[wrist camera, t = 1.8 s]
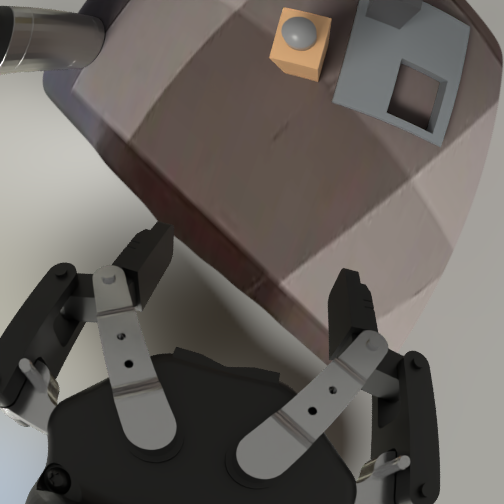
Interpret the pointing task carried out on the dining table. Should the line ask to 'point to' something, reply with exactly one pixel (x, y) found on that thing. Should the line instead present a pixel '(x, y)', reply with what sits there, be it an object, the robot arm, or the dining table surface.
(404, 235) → the dining table surface
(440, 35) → the gray post stand
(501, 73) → the dining table surface
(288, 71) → the plug
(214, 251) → the dining table surface
